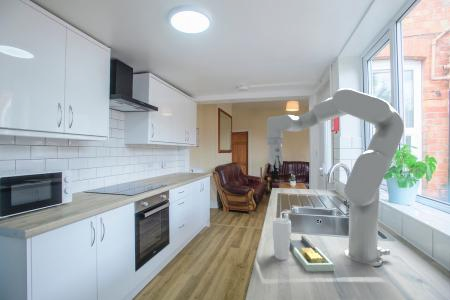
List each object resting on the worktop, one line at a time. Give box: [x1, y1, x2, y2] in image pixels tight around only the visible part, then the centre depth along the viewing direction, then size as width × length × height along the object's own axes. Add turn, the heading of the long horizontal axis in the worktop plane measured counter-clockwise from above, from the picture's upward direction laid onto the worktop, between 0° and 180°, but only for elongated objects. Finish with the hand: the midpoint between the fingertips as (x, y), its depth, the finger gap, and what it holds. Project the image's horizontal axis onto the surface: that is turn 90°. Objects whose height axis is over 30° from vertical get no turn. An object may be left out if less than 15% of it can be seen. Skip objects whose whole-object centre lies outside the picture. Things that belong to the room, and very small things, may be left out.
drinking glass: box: [272, 217, 292, 261], centre depth 86 cm, size 7×7×15 cm
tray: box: [293, 246, 335, 272], centre depth 83 cm, size 9×13×3 cm
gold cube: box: [301, 248, 315, 259], centre depth 85 cm, size 4×4×4 cm
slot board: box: [289, 235, 316, 253], centre depth 95 cm, size 8×12×3 cm
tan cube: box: [306, 253, 323, 263], centre depth 81 cm, size 4×4×4 cm
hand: (274, 178), depth 112 cm, fingers closed
